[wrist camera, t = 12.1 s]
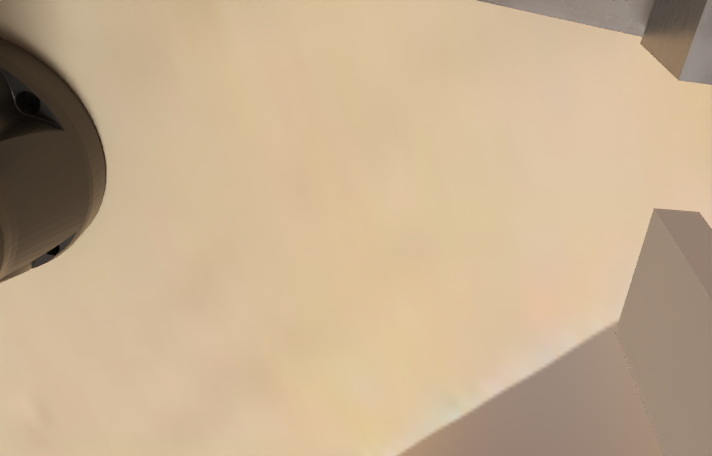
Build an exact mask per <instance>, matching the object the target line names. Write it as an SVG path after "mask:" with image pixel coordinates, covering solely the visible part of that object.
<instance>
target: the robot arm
mask: <svg viewBox="0 0 712 456" xmlns="http://www.w3.org/2000/svg"><path fill="white" fill-rule="evenodd" d="M105 180H106V172H105V162H104V156H103V151H102V147H101V144H100V141H99V138H98V135H97V132H96V130H95V128H94V126H93V124H92V122H91V120H90V118H89V116H88V114H87V113H86V111H85V109H84V108H83V106H82V105H81V103H80V102H79V100H78V99H77V98H76V96H75V95H74V94H73V92H72V91H71V90H70V89H69V88H68V87H67V85H66V84H65V83H64V82H63V81H62V80H61V79H60V78H59V77H58V76H57V75H56V74H55V73H54V72H52V71H51V70H50V69H49V68H48V67H47V66H45V65H44V64H43V63H42V62H40V61H39V60H38V59H36V58H35V57H33V56H32V55H31V54H29V53H27V52H26V51H24V50H23V49H21V48H19V47H17V46H15V45H13V44H12V43H9V42H7V41H5V40H3V39H1V38H0V283H1V282H4V281H6V280H8V279H11V278H13V277H15V276H17V275H20V274H22V273H24V272H26V271H28V270H30V269H32V268H35V267H38V266H40V265H42V264H45V263H47V262H49V261H51V260H53V259H55V258H56V257H58V256H59V255H61V254H62V253H63V252H64V251H66V250H67V249H68V248H69V247H70V246H71V245H72V244H73V243H74V242H75V241H76V240H77V239H78V238H79V237H80V236H81V234H82V233H83V232H84V231H85V230H86V229H87V227H88V226H89V225H90V224H91V222H92V221H93V219H94V218H95V216H96V214H97V212H98V210H99V208H100V206H101V203H102V199H103V195H104V190H105ZM615 334H616V336H617V339H618V341H619V344H620V347H621V349H622V352H623V354H624V357H625V359H626V362H627V364H628V367H629V369H630V372H631V375H632V377H633V380H634V382H635V385H636V387H637V389H638V392H639V395H640V397H641V400H642V403H643V405H644V408H645V410H646V413H647V415H648V418H649V420H650V423H651V425H652V428H653V431H654V433H655V436H656V438H657V441H658V443H659V446H660V448H661V451H662V454H663V456H712V229H711V227H710V226H709V225H708V223H707V222H706V221H705V219H704V218H703V217H702V215H701V214H700V213H699V212H692V211H679V210H667V209H655V208H654V210H653V213H652V217H651V220H650V223H649V226H648V229H647V233H646V236H645V239H644V242H643V246H642V249H641V252H640V255H639V258H638V262H637V265H636V268H635V271H634V274H633V278H632V281H631V284H630V287H629V291H628V294H627V297H626V300H625V303H624V307H623V310H622V313H621V316H620V319H619V323H618V326H617V329H616V332H615Z"/></svg>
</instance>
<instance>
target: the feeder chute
mask: <svg viewBox="0 0 712 456" xmlns="http://www.w3.org/2000/svg"><path fill="white" fill-rule="evenodd" d="M478 1H482V2H487V3H491V4H496V5H500V6H505V7H509V8H514V9H518V10H523V11H527V12H532V13H536V14H541V15H545V16H550V17H555V18H559V19H564V20H568V21H573V22H577V23H582V24H586V25H591V26H595V27H600V28H604V29H609V30H613V31H618V32H623V33H627V34H632V35H636V36H641V37H642V40H641V43H640V44H641V45H642V46H643V47H644V48H645V49H646V50H648V51H649V52H650V53H651V54H652V55H653V56H654V57H655V58H656V59H657V60H658V61H659V62H660V63H661V64H662V65H663V66H664V67H665V68H666V69H667V70H668V71H669V72H670V73H671V74H672V75H674V76H675V77H676V78H677V79H678V80H680V81H687V82H695V83H703V84H710V85H712V0H478Z"/></svg>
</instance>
